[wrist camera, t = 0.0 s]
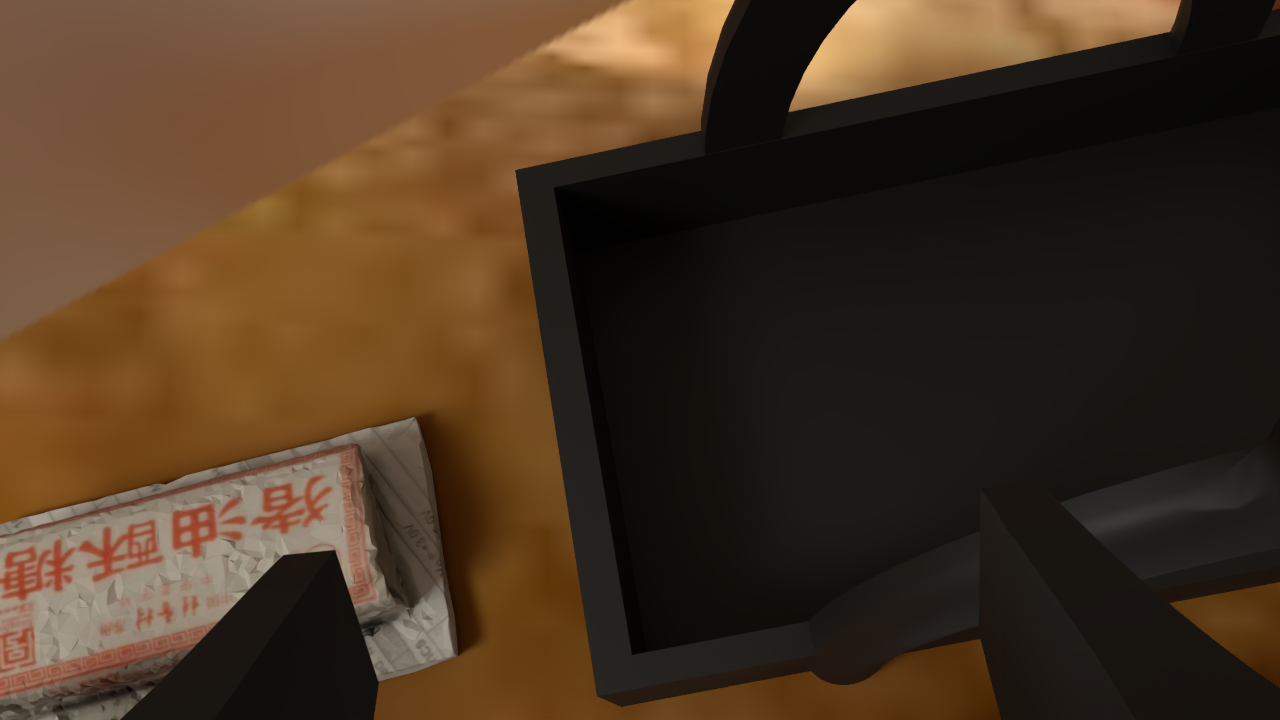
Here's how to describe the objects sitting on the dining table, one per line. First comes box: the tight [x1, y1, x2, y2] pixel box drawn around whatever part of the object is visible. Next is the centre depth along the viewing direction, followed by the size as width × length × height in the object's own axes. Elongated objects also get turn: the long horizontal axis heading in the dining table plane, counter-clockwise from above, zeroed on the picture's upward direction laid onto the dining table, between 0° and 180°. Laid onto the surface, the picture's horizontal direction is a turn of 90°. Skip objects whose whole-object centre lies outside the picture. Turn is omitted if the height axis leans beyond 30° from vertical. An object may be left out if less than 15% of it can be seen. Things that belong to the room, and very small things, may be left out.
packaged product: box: [0, 417, 458, 720], centre depth 45 cm, size 18×5×10 cm
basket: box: [515, 0, 1280, 707], centre depth 31 cm, size 35×21×35 cm, turn 100°
